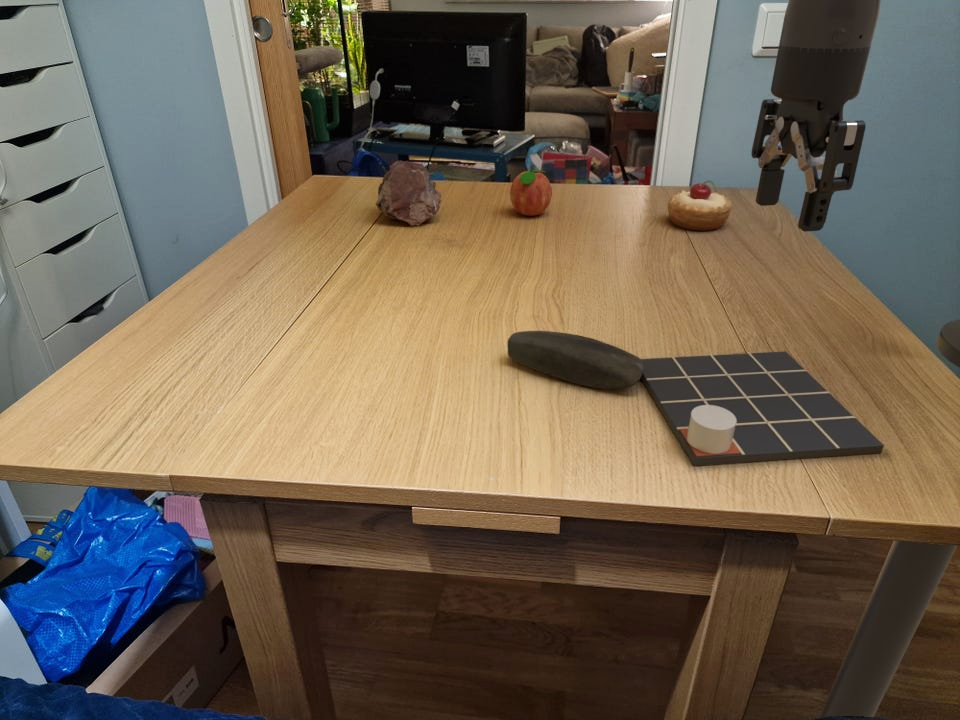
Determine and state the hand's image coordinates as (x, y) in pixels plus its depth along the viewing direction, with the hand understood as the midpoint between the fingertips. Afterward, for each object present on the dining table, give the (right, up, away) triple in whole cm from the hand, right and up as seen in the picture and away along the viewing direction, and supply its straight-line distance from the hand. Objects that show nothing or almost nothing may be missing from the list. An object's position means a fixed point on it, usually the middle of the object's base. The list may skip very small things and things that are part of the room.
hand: (786, 216), depth 68 cm
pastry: (+12, +13, +65) cm, 68 cm away
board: (-1, -20, +8) cm, 21 cm away
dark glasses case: (-20, -16, +15) cm, 30 cm away
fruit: (-21, +16, +71) cm, 76 cm away
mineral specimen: (-46, +15, +70) cm, 85 cm away
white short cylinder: (-8, -23, 0) cm, 24 cm away
